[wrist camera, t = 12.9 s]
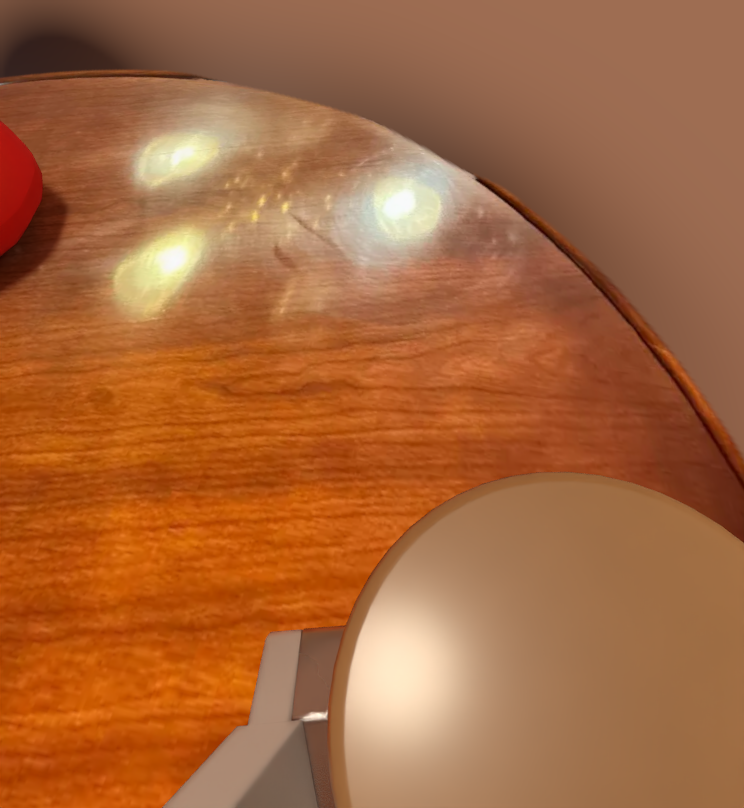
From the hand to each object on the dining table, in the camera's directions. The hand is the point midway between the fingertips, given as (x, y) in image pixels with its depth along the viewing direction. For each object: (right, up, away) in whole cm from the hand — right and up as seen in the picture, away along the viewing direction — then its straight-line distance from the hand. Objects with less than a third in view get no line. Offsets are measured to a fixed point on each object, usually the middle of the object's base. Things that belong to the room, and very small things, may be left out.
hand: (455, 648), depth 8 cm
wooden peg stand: (0, -4, +7) cm, 8 cm away
